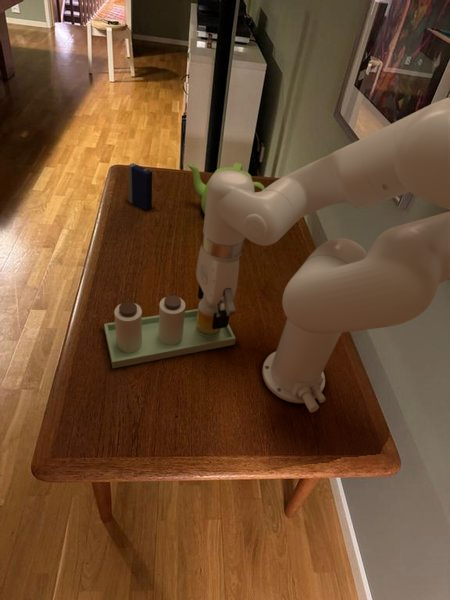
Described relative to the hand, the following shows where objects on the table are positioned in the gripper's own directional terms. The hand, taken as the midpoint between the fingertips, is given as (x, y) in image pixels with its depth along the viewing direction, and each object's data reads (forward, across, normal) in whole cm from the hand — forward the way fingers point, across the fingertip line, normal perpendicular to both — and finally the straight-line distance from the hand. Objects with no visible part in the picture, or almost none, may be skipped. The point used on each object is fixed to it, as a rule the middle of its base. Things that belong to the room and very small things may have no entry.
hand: (212, 311), depth 83 cm
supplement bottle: (+6, 0, 0) cm, 6 cm away
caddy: (+6, 0, -9) cm, 10 cm away
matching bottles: (+5, 0, -13) cm, 14 cm away
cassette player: (+6, -54, -4) cm, 55 cm away
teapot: (+6, -47, +20) cm, 52 cm away
